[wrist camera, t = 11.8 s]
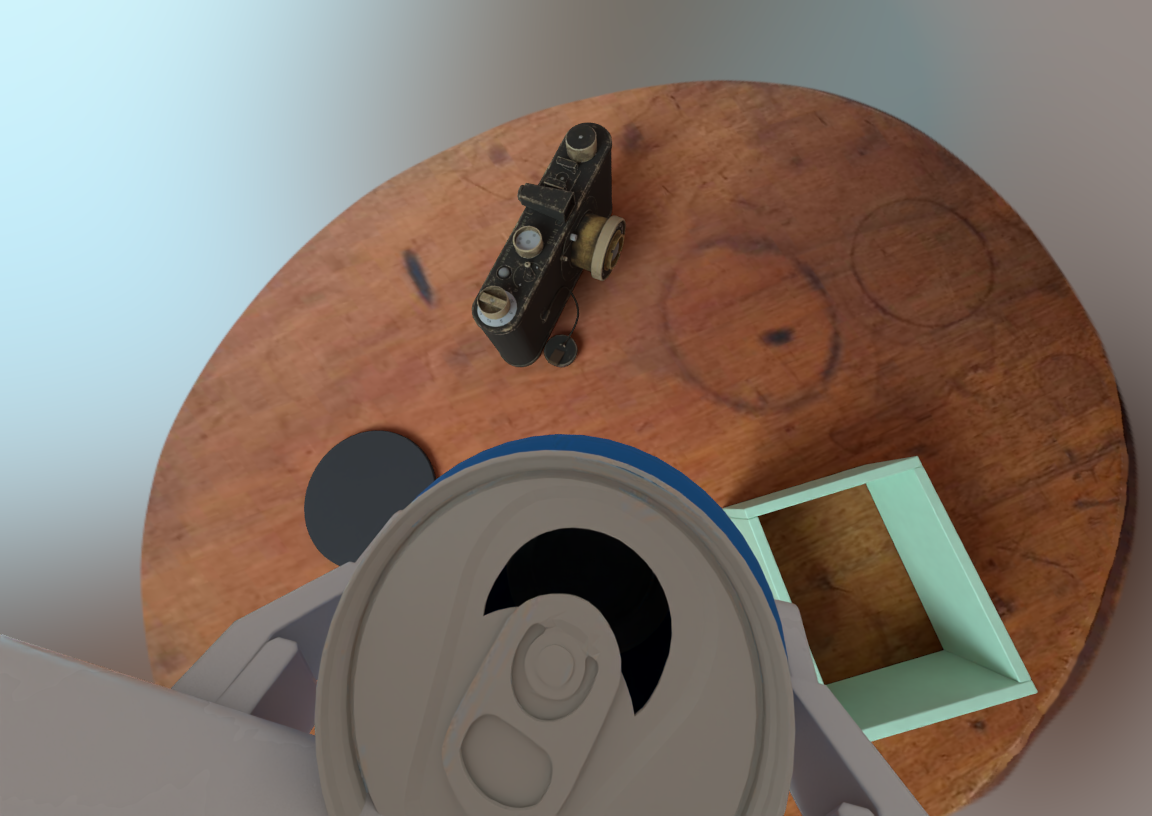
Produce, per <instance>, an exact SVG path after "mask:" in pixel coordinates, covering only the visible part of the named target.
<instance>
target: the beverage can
mask: <svg viewBox="0 0 1152 816" xmlns="http://www.w3.org/2000/svg"><path fill="white" fill-rule="evenodd" d="M314 723H315V743H316V759H317V765H318V771H319V777H320V783H321V789H322V794H323V798H324V801H325V805H326V808H327V812H328V815H329V816H359V815H360V814H361V812H362V810H363V807H364V805H365V800H366V793H369V794H370V796H371V799H372V801H373V803H374V805H375V807H376V809H377V811H378V813H379V814H381V815H384V816H784V813H785V810H786V805H787V800H788V794H789V789H790V784H791V778H792V773H793V762H794V747H795V716H794V698H793V690H792V684H791V678H790V673H789V667H788V656H787V651H786V645H785V639H784V634H783V628H782V623H781V620H780V617H779V614H778V610H777V607H776V604H775V600H774V597H773V594H772V591H771V589H770V587H769V584H768V582H767V580H766V578H765V575H764V573H763V571H762V569H761V566H760V564H759V562H758V560H757V559H756V557H755V555H754V554H753V552H752V550H751V548H750V547H749V545H748V543H747V542H746V540H745V538H744V537H743V535H742V534H741V532H740V531H739V530H738V528H737V527H736V526H735V524H734V523H733V522H732V521H731V519H730V518H729V517H728V515H727V514H726V513H725V511H724V510H723V509H722V508H721V507H720V506H719V505H718V504H717V503H716V502H715V501H714V500H713V499H712V498H711V497H710V496H709V495H708V494H707V493H706V492H705V491H704V490H703V489H702V488H700V487H699V486H698V485H697V484H695V483H694V482H693V481H692V480H690V479H689V478H688V477H687V476H685V475H684V474H683V473H682V472H680V471H678V470H677V469H675V468H674V467H672V466H670V465H669V464H667V463H665V462H664V461H662V460H660V459H659V458H657V457H655V456H652V455H650V454H648V453H646V452H644V451H641V450H639V449H637V448H635V447H632V446H628V445H625V444H622V443H619V442H615V441H612V440H609V439H603V438H597V437H591V436H585V435H565V434H555V435H544V436H533V437H528V438H524V439H519V440H515V441H511V442H507V443H504V444H501V445H499V446H496V447H493V448H490V449H488V450H485V451H482V452H480V453H478V454H476V455H475V456H473V457H471V458H469V459H467V460H465V461H463V462H461V463H459V464H458V465H456V466H455V467H453V468H452V469H450V470H449V471H447V472H446V473H445V474H443V475H442V476H440V477H439V478H437V479H436V480H435V481H434V482H433V483H432V484H430V485H429V486H428V487H427V488H426V489H425V490H424V491H423V492H421V493H420V494H419V495H418V496H417V497H416V498H415V499H414V500H413V501H412V503H411V504H409V505H408V506H407V507H406V508H405V509H404V510H403V511H402V512H400V513H399V514H398V515H397V516H396V517H395V518H394V519H393V520H392V521H391V523H390V524H389V525H388V526H387V527H386V528H385V529H384V530H383V532H382V533H381V534H380V535H379V536H378V537H377V538H376V540H375V541H374V542H373V544H372V545H371V547H370V548H369V550H368V551H367V552H366V554H365V555H364V557H363V558H362V560H361V561H360V562H359V564H358V566H357V568H356V569H355V571H354V573H353V575H352V577H351V579H350V580H349V582H348V584H347V586H346V588H345V590H344V591H343V594H342V596H341V599H340V601H339V604H338V606H337V609H336V611H335V614H334V616H333V618H332V621H331V624H330V628H329V631H328V635H327V638H326V642H325V645H324V649H323V652H322V657H321V663H320V669H319V675H318V681H317V687H316V703H315V720H314Z"/></svg>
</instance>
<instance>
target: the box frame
mask: <svg viewBox="0 0 1152 816" xmlns="http://www.w3.org/2000/svg"><path fill="white" fill-rule="evenodd" d="M865 483H866V485H867V487H868V489H869V491H870V493H871V495H872V498H873V500H874V502H875V504H876V506H877V508H878V510H879V513H880V515H881V517H882V519H883V521H884V523H885V525H886V527H887V530H888V532H889V534H890V536H891V538H892V540H893V542H894V545H895V547H896V549H897V551H898V553H899V555H900V557H901V559H902V562H903V564H904V566H905V568H906V570H907V572H908V574H909V577H910V579H911V581H912V583H913V585H914V587H915V589H916V591H917V594H918V596H919V598H920V600H921V602H922V604H923V606H924V609H925V611H926V613H927V615H928V617H929V619H930V621H931V623H932V626H933V628H934V630H935V632H936V634H937V636H938V638H939V641H940V643H941V645H942V647H943V649H944V650H943V651H939V652H936V653H932V654H929V655H926V656H922V657H919V658H916V659H912V660H909V661H905V662H902V663H899V664H895V665H892V666H888V667H885V668H882V669H878V670H875V671H872V672H868V673H865V674H861V675H858V676H855V677H851V678H848V679H845V680H841V681H838V682H834V683H831V684H828V685H826V686H827V687H828V688H829V689H830V691H831V692H832V693H833V695H834V696H835V697H836V698H837V700H838V701H839V702H840V703H841V705H842V706H843V707H844V708H845V710H846V711H847V712H848V714H849V715H850V716H851V717H852V719H853V720H854V721H855V722H856V724H857V725H858V726H859V728H860V729H861V730H862V731H863V733H864V734H865V735H866V736H867V738H868V739H869V740H870V741H874V740H878V739H881V738H885V737H888V736H891V735H895V734H898V733H902V732H905V731H909V730H912V729H915V728H919V727H922V726H926V725H929V724H933V723H936V722H939V721H943V720H946V719H950V718H953V717H956V716H960V715H963V714H967V713H970V712H974V711H977V710H980V709H984V708H987V707H991V706H994V705H998V704H1001V703H1004V702H1008V701H1011V700H1015V699H1018V698H1021V697H1025V696H1028V695H1032V694H1035V693H1037V690H1036V688H1035V686H1034V684H1033V682H1032V680H1031V678H1030V676H1029V674H1028V672H1027V670H1026V668H1025V666H1024V664H1023V662H1022V660H1021V658H1020V656H1019V654H1018V652H1017V650H1016V648H1015V646H1014V644H1013V642H1012V640H1011V638H1010V636H1009V634H1008V632H1007V630H1006V628H1005V626H1004V624H1003V622H1002V621H1001V619H1000V617H999V615H998V613H997V611H996V609H995V607H994V605H993V603H992V601H991V599H990V597H989V595H988V593H987V591H986V589H985V587H984V585H983V583H982V581H981V579H980V577H979V575H978V573H977V571H976V569H975V567H974V565H973V564H972V562H971V560H970V558H969V556H968V554H967V552H966V550H965V548H964V546H963V544H962V542H961V540H960V538H959V536H958V534H957V532H956V530H955V528H954V526H953V524H952V522H951V520H950V518H949V516H948V514H947V512H946V510H945V508H944V507H943V505H942V503H941V501H940V499H939V497H938V495H937V493H936V491H935V489H934V487H933V485H932V483H931V481H930V479H929V477H928V475H927V473H926V471H925V469H924V467H923V466H922V464H921V462H920V460H919V458H918V456H914V457H908V458H902V459H896V460H890V461H884V462H878V463H872V464H866V465H863V466H859V467H856V468H853V469H850V470H846V471H843V472H840V473H837V474H833V475H830V476H827V477H823V478H820V479H817V480H814V481H810V482H807V483H804V484H800V485H797V486H794V487H791V488H787V489H784V490H781V491H778V492H774V493H771V494H768V495H764V496H761V497H758V498H755V499H751V500H748V501H745V502H741V503H738V504H735V505H732V506H728V507H725V508H723V510H724V511H725V513H726V514H727V515H728V517H729V518H730V519H731V521H732V522H733V523H734V524H735V526H736V527H737V528H738V530H739V531H740V532H741V534H742V535H743V537H744V538H745V540H746V542H747V543H748V545H749V547H750V548H751V550H752V552H753V554H754V555H755V557H756V559H757V560H758V562H759V564H760V566H761V569H762V571H763V573H764V575H765V578H766V580H767V582H768V584H769V587H770V589H771V591H772V594H773V597H774V599H776V600H781V601H785V602H789V603H792V602H791V599H790V597H789V594H788V592H787V589H786V587H785V584H784V582H783V579H782V577H781V574H780V572H779V569H778V567H777V564H776V561H775V559H774V556H773V554H772V551H771V549H770V546H769V544H768V541H767V539H766V536H765V534H764V531H763V529H762V526H761V523H760V521H759V518H758V517H757V516H760V515H763V514H766V513H770V512H773V511H776V510H780V509H783V508H786V507H789V506H793V505H796V504H799V503H803V502H806V501H809V500H812V499H816V498H819V497H822V496H826V495H829V494H832V493H835V492H839V491H842V490H845V489H849V488H852V487H855V486H858V485H862V484H865ZM809 649H810V647H809ZM810 653H811V650H810ZM811 656H812V660H813V664H814V668H815V671H816V675H817V679H818V683H820V684H823V685H824V683H823V680H822V678H821V675H820V673H819V670H818V668H817V665H816V663H815V660H814V658H813V655H812V653H811Z"/></svg>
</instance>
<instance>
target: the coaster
mask: <svg viewBox="0 0 1152 816" xmlns="http://www.w3.org/2000/svg"><path fill="white" fill-rule="evenodd" d="M435 480H436V477H435V473H434V470H433V467H432V465H431V463H430V461H429V459H428V457H427V456H426V454H425V453H424V452H423V451H422V449H421V448H420V447H419V446H417V445H416V444H415V443H414V442H413V441H411V440H410V439H408V438H406V437H404V436H402V435H399V434H396V433H393V432H388V431H367V432H363V433H359V434H356V435H353V436H351V437H349V438H347V439H345V440H343V441H342V442H340V443H339V444H337V445H336V446H335V447H333V448H332V449H331V450H330V451H329V452H328V453H327V454H326V455H325V456H324V457H323V459H322V460H321V461H320V463H319V464H318V465H317V467H316V469H315V471H314V472H313V474H312V477H311V479H310V481H309V484H308V487H307V491H306V496H305V505H304V512H305V521H306V526H307V529H308V532H309V535H310V537H311V539H312V541H313V543H314V544H315V546H316V547H317V549H318V550H319V551H320V552H321V553H322V554H323V555H324V556H325V557H326V558H327V559H329V560H330V561H332V562H333V563H335V564H337V565H339V566H342V565H344V564H345V563H347V562H354V563H355V562H356V561H357V560H358V558H359V557H360V556H361V555H362V553H363V552H364V551H365V550H366V548H367V547H368V546H369V545H370V543H371V542H372V541H373V539H374V538H375V537H376V536H377V534H378V533H379V532H380V531H381V529H382V528H383V527H384V526H385V524H386V523H387V522H388V521H389V519H390V518H391V517H392V516H393V514H395V513H396V512H398V511H399V510H404V509H405V508H406V507H407V506H408V505H409V504H411V503H412V501H413V500H414V499H415V498H416V497H417V496H418V495H419V494H420V493H421V492H423V491H424V490H425V489H426V488H427V487H428V486H429V485H430V484H432V483H433V482H434V481H435Z"/></svg>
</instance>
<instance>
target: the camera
mask: <svg viewBox="0 0 1152 816" xmlns="http://www.w3.org/2000/svg"><path fill="white" fill-rule="evenodd" d="M611 148H612V139H611V135H610V133H609V132H608V131H607V130H606V129H605V128H604V127H602V126H601V125H598V124H595V123H581V124H578V125H576V126H574V127H572V128H571V129H570V130H569V131H568V132H567V134H566V135H565V137H564V139H563V141H562V143H561V144H560V146H559V148H558V150H557V152H556V154H555V155H554V157H553V159H552V161H551V163H550V164H549V166H548V168H547V170H546V172H545V173H544V175H543V177H542V179H541V181H540V183H539V184H538V185H534V184H529V183H526V184H525V185H521V186H520V188H519V190H518V199H519V201H521V204H522V205H524V206H526V208H525V210H524V211H523V213H522V215H521V217H520V219H519V221H518V222H517V224H516V226H515V228H514V230H513V231H512V233H511V235H510V237H509V239H508V240H507V242H506V244H505V246H504V248H503V250H502V251H501V253H500V255H499V257H498V259H497V260H496V262H495V264H494V266H493V268H492V269H491V271H490V273H489V275H488V277H487V278H486V280H485V282H484V284H483V286H482V288H481V289H480V291H479V293H478V295H477V297H476V298H475V300H474V303H473V305H472V315H473V318H474V320H475V322H476V323H477V325H478V326H479V327H480V328H481V329H482V330H483V331H484V333H485V334H486V335H487V337H488V338H489V339H490V341H491V342H492V343H493V345H494V346H495V347H496V349H497V350H498V351H499V353H500V355H501V357H502V358H503V359H504V360H505V361H506V362H507V363H508V364H510V365H512V366H515V367H525V366H529V365H531V364H532V363H534V362H535V361H536V360H537V359H538V357H539V355H540V353H541V351H542V349H543V347H544V345H545V344H546V345H545V348H544V355H545V358H546V359H547V361H548V363H550V364H552V365H554V366H557V367H565V366H568V365H570V364H571V363H572V362H573V361H574V359H575V358H576V355H577V351H578V350H577V345H576V343H575V341H574V340H573V339H572V338H571V337H570V336H571V334H572V333H573V331H574V329H575V327H576V324H577V321H578V317H579V307H578V303H577V301H576V299H575V297H574V295H573V293H572V290H573V288H574V286H575V284H576V282H577V280H578V278H579V276H580V274H581V273H582V271H583V269H585V270H588V271H590V272H591V275H592V277H593V278H595V279H598V280H600V281H604V280H606V279H607V278H608V276H609V275H610V273H611V272H612V270H613V268H614V267H615V265H616V263H617V261H618V259H619V257H620V254H619V253H620V251H622V248H623V243H624V236H625V229H626V223H625V220H624V218H621V217H618V216H615V215H613V216H611V217H610V215H611V213H612V176H611ZM609 217H610V218H609ZM570 294H571V295H572V297H573V299H574V301H575V303H576V306H577V318H576V322H575V324H574V327H573V329H572V331H571V333H570V334H569V336H566V335H556V336H554V337H552V338H551V339H549V340H548V338H549V336H550V334H551V332H552V330H553V328H554V326H555V324H556V322H557V320H558V318H559V316H560V314H561V312H562V310H563V308H564V306H565V304H566V302H567V300H568V298H569V296H570ZM547 340H548V342H547ZM546 342H547V343H546Z"/></svg>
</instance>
